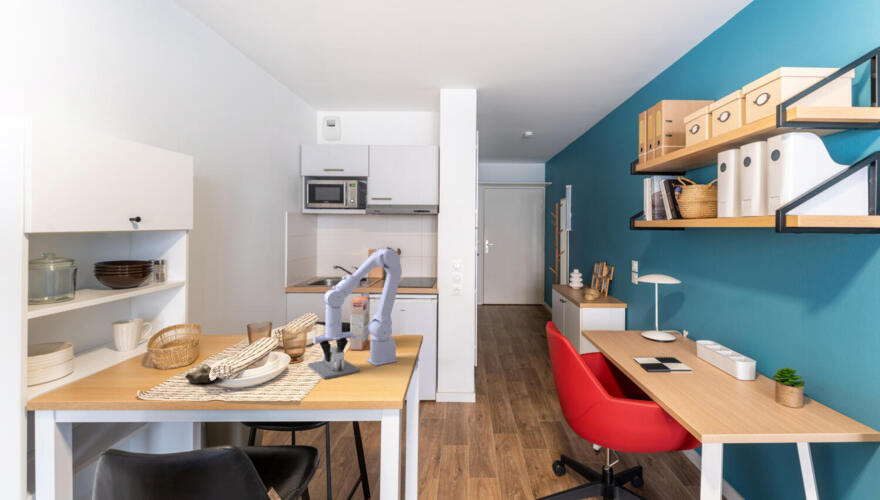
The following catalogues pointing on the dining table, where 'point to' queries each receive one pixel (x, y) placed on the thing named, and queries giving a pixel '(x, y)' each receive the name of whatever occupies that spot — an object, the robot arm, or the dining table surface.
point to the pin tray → (329, 373)
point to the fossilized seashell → (200, 374)
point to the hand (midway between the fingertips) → (333, 359)
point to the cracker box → (359, 322)
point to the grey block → (335, 357)
